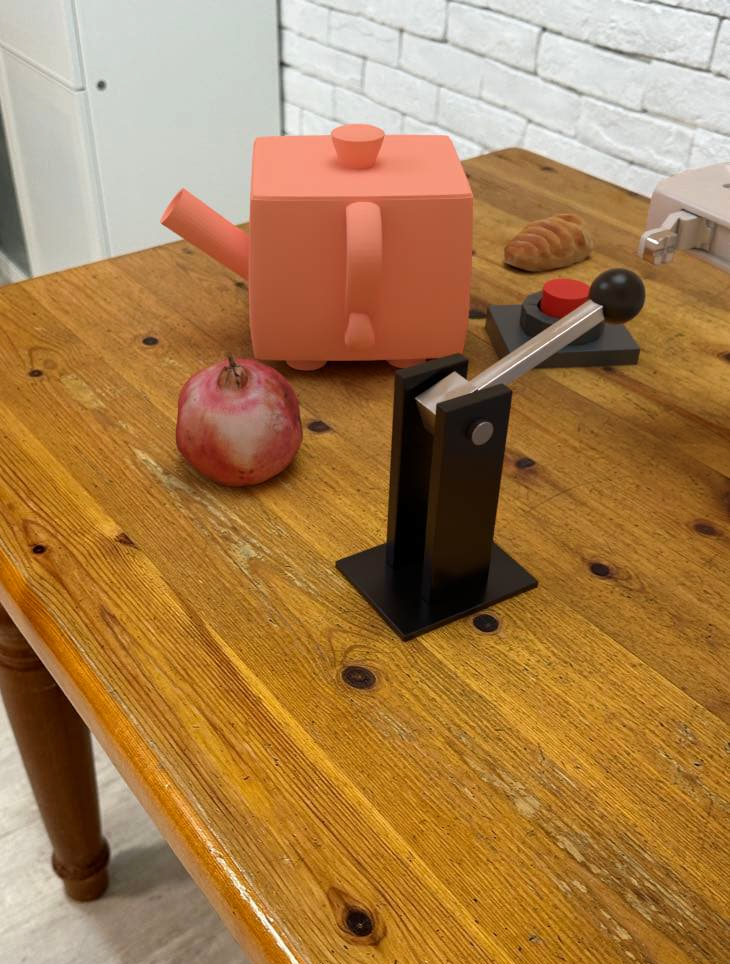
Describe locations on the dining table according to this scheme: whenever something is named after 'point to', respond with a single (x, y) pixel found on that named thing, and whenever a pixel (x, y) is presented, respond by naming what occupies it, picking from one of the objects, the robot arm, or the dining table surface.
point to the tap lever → (546, 339)
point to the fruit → (238, 422)
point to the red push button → (563, 297)
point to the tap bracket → (440, 509)
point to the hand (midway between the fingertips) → (703, 277)
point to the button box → (589, 349)
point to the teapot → (348, 247)
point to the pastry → (550, 243)
